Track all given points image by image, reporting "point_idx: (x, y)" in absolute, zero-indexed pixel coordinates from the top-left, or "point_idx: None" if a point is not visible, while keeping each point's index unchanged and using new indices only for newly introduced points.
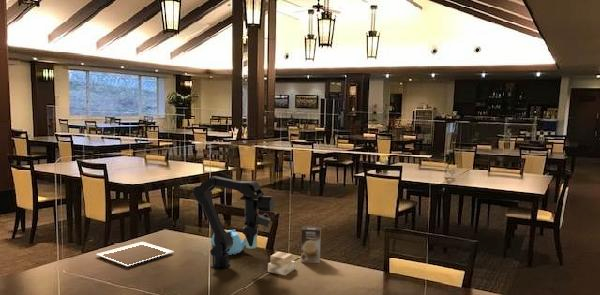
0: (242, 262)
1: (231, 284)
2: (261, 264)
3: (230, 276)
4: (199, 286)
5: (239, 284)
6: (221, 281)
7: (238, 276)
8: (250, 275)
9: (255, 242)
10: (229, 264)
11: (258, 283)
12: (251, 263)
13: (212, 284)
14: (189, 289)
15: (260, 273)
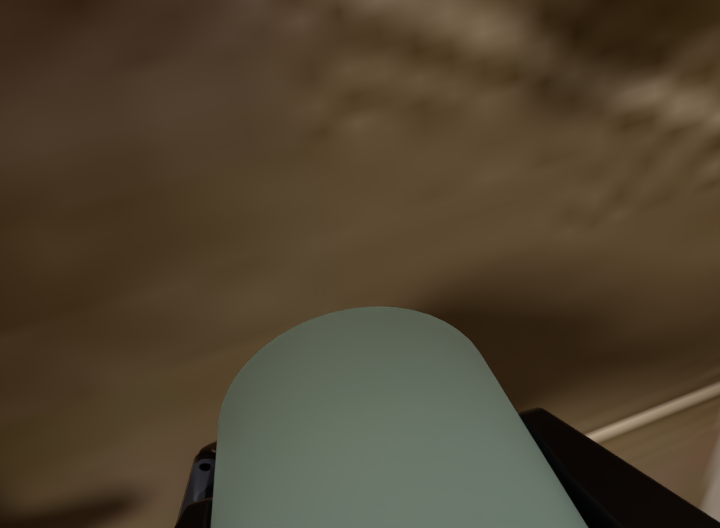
0: (55, 381)
1: (666, 271)
2: (13, 143)
3: (483, 344)
4: (673, 452)
5: (675, 205)
6: (595, 366)
7: (479, 279)
8: (442, 171)
9: (493, 423)
10: (210, 460)
11: (676, 8)
12: (39, 280)
13: (648, 398)
14: (711, 478)
15: (363, 66)
